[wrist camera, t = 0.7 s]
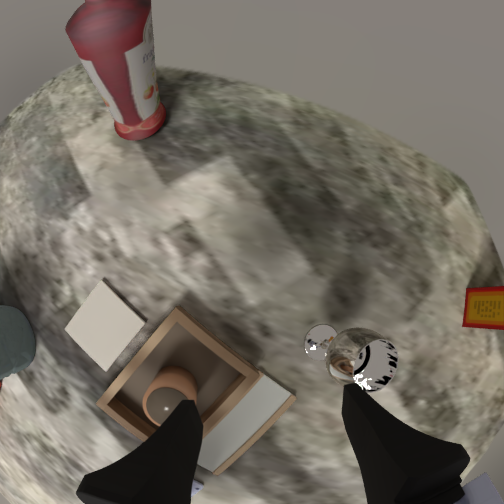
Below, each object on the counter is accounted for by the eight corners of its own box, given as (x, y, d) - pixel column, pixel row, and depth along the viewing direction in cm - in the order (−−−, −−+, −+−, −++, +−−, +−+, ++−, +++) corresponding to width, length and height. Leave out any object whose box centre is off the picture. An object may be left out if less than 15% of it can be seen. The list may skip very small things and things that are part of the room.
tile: (107, 370, 27) (105, 371, 26) (66, 328, 27) (64, 329, 26) (146, 322, 28) (145, 323, 28) (102, 279, 28) (100, 279, 28)
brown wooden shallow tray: (176, 448, 27) (174, 462, 24) (104, 394, 26) (95, 403, 23) (255, 367, 30) (260, 375, 27) (178, 305, 29) (175, 307, 26)
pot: (180, 413, 27) (174, 439, 21) (145, 386, 27) (132, 407, 21) (206, 384, 28) (206, 407, 22) (171, 356, 28) (162, 373, 22)
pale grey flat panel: (217, 472, 27) (217, 476, 26) (178, 450, 27) (178, 453, 26) (294, 395, 30) (297, 398, 29) (257, 368, 30) (258, 370, 29)
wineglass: (292, 330, 31) (338, 351, 19) (335, 311, 32) (396, 320, 20) (306, 373, 30) (354, 410, 19) (347, 353, 32) (407, 377, 20)
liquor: (169, 142, 31) (135, -81, 4) (113, 151, 30) (18, -36, 3) (168, 98, 32) (152, -93, 5) (117, 106, 31) (60, -66, 4)
